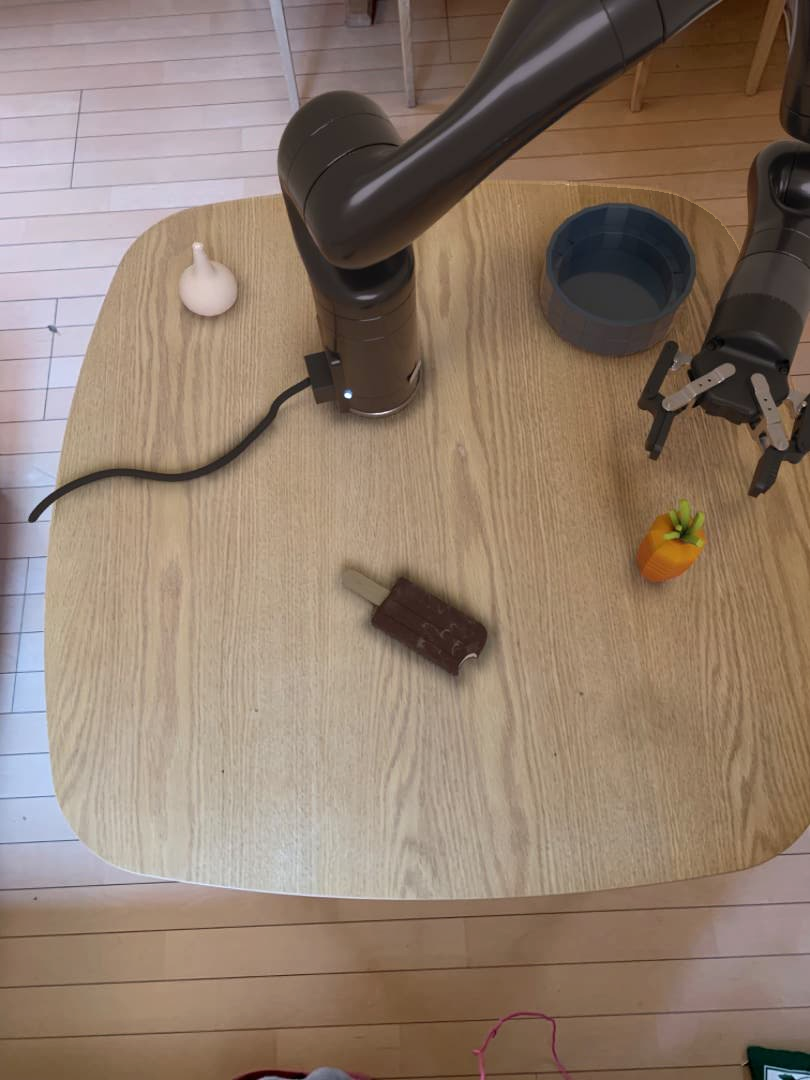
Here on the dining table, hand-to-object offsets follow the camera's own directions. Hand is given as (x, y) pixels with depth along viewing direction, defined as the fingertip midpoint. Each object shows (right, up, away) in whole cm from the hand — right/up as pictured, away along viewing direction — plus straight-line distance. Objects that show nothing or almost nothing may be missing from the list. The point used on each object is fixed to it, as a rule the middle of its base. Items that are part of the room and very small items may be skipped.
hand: (704, 474), depth 70 cm
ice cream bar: (-24, -13, +11) cm, 29 cm away
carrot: (-1, -9, +12) cm, 15 cm away
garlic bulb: (-46, +21, +25) cm, 56 cm away
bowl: (-2, +21, +23) cm, 31 cm away
